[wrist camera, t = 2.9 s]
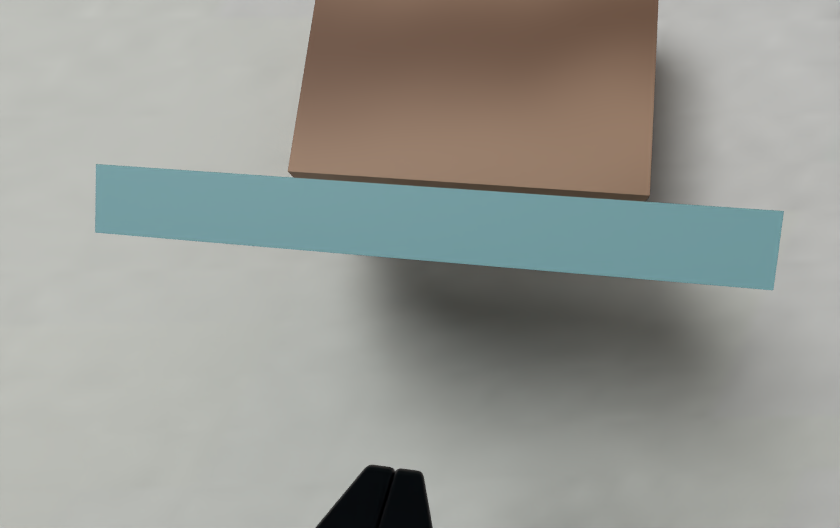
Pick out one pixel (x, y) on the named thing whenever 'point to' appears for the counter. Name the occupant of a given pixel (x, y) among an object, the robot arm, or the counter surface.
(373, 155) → the case
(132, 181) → the lid
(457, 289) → the counter surface
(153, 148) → the counter surface
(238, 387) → the counter surface
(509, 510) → the counter surface
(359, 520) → the robot arm
